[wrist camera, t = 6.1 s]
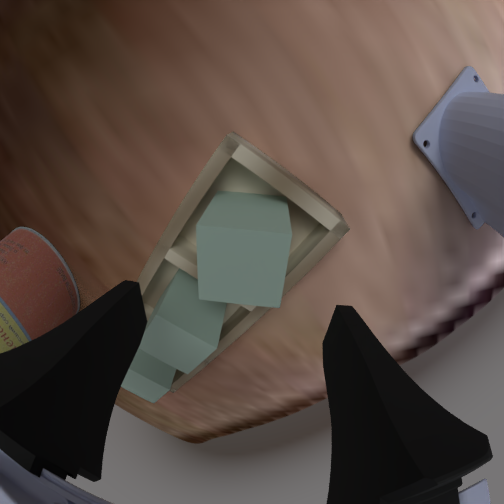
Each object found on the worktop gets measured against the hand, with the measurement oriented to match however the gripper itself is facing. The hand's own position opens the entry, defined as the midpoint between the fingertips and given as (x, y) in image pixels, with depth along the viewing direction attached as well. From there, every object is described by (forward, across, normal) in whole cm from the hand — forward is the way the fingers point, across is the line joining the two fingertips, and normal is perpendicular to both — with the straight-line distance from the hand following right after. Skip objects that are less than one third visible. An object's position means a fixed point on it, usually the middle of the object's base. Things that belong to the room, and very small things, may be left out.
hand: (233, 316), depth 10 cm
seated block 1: (+8, +8, +12) cm, 17 cm away
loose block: (+8, 0, 0) cm, 8 cm away
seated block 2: (+8, +4, +6) cm, 11 cm away
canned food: (+8, +21, +8) cm, 24 cm away
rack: (+8, +4, +6) cm, 11 cm away
